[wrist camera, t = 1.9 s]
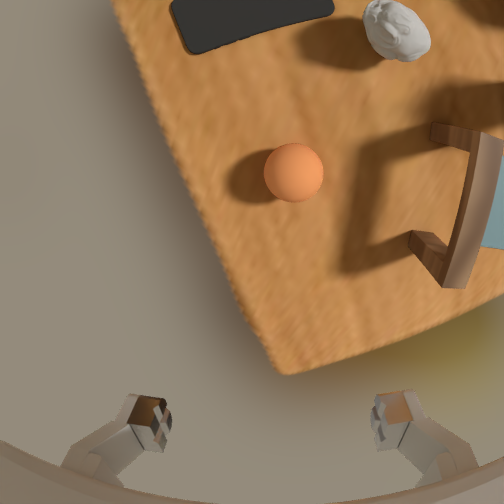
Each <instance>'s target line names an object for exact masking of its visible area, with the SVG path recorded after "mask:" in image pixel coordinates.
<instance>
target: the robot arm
mask: <svg viewBox="0 0 504 504" xmlns="http://www.w3.org/2000/svg"><path fill="white" fill-rule="evenodd" d="M374 402H375V406H374V407H373V408H372V411H371V427H372V430H373V431H374V432H375V433H376V435H375V438H374V439H375V443H376V447H377V451H384V450H391V449H397V448H398V450H399V451H400V452H401V453H402V454H403V455H404V456H405V457H406V458H407V459H408V460H409V461H410V462H411V463H412V464H413V465H414V466H415V467H416V468H417V469H419V471H421V472H422V473H423V474H424V475H423V476H422V478H421V479H420V480H419V482H418V483H417V484H416V486H415V488H413V489H409V490H405V491H401V492H396V493H392V494H387V495H382V496H377V497H372V498H365V499H360V500H352V501H345V502H337V503H326V504H504V457H501V458H499V459H497V460H495V461H493V462H490V463H488V464H485V465H483V466H481V467H479V466H478V463H477V461H476V458H475V456H474V454H473V451H472V449H471V447H470V444H469V443H467V442H466V441H464V440H462V439H461V438H459V437H458V436H456V435H455V434H453V433H452V432H450V431H449V430H447V429H446V428H444V427H443V426H441V425H440V424H438V423H437V422H435V421H434V420H432V419H431V418H426V417H425V414H424V412H423V409H422V407H421V405H420V403H419V400H418V398H417V395H416V393H415V391H414V390H413V389H408V390H403V391H396V392H390V393H383V394H377V395H376V397H375V400H374ZM166 406H167V402H166V400H165V399H164V398H157V397H151V396H144V395H137V394H129V395H128V396H127V397H126V399H125V401H124V403H123V405H122V407H121V409H120V411H119V413H118V415H117V417H116V419H115V421H111V422H109V423H108V424H106V425H104V426H102V427H101V428H99V429H98V430H96V431H94V432H93V433H91V434H90V435H88V436H87V437H85V438H83V439H82V440H80V441H78V442H77V443H75V444H73V445H72V446H71V447H70V449H69V451H68V453H67V455H66V457H65V458H64V460H63V462H62V464H61V466H60V467H59V466H57V465H54V464H52V463H49V462H47V461H45V460H42V459H40V458H38V457H35V456H33V455H31V454H29V453H27V452H25V451H23V450H20V449H18V448H16V447H14V446H13V445H11V444H9V443H7V442H5V441H1V440H0V504H216V503H206V502H198V501H190V500H183V499H177V498H170V497H165V496H159V495H155V494H150V493H145V492H141V491H136V490H132V489H128V488H124V485H123V483H122V482H121V481H120V480H119V478H118V477H117V476H116V475H118V474H119V473H120V472H121V471H122V470H123V469H124V468H126V467H127V466H128V465H129V464H130V463H131V462H132V461H134V460H135V459H136V458H137V457H138V456H139V455H140V454H141V453H143V452H144V450H147V451H154V452H161V453H163V452H164V449H165V446H166V443H167V439H166V437H165V435H167V434H168V433H169V432H170V430H171V427H172V416H171V413H170V411H169V410H168V409H167V408H166Z"/></svg>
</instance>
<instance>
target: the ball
mask: <svg viewBox="0 0 504 504" xmlns="http://www.w3.org/2000/svg"><path fill="white" fill-rule="evenodd" d="M264 179H265V182H266V185H267V187H268V188H269V190H270V191H271V192H272V193H273V194H274V195H275V196H276V197H278V198H279V199H281V200H283V201H287V202H301V201H305V200H307V199H309V198H310V197H312V196H313V195H314V194H315V193H316V192H317V191H318V190H319V188H320V186H321V184H322V181H323V166H322V163H321V161H320V159H319V157H318V156H317V154H316V153H315V152H314V151H312V150H311V149H310V148H308V147H306V146H304V145H301V144H293V143H292V144H285V145H282V146H280V147H278V148H277V149H275V150H274V151H273V152H272V153H271V154H270V155H269V157H268V158H267V160H266V163H265V166H264Z"/></svg>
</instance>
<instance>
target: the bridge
mask: <svg viewBox="0 0 504 504" xmlns="http://www.w3.org/2000/svg"><path fill="white" fill-rule="evenodd" d="M430 140H432V141H435V142H439V143H442V144H446V145H449V146H452V147H455V148H458V149H461V150H464V151H468V152H470V156H469V161H468V167H467V172H466V177H465V182H464V187H463V192H462V196H461V200H460V205H459V209H458V213H457V217H456V220H455V224H454V228H453V231H452V235H451V238H450V242H449V245H448V246H447V245H445V244H444V243H443V242H442V241H441V240H440V239H439V238H438V237H437V236H436V235H435V234H434V233H430V232H423V231H415V230H412V232H411V236H410V240H409V243H408V247H409V248H410V249H411V251H412V252H413V253H414V254H415V255H416V256H417V258H418V259H419V260H420V261H421V262H422V264H423V265H424V266H425V267H426V269H427V270H428V271H429V272H430V274H431V275H432V276H433V277H434V279H435V280H436V281H437V282H438V284H439V285H440V286H441V287H442V288H456V289H465V288H466V285H467V282H468V280H469V277H470V274H471V272H472V269H473V266H474V263H475V261H476V258H477V255H478V252H479V249H480V246H481V242H482V239H483V236H484V233H485V229H486V226H487V222H488V219H489V215H490V211H491V207H492V203H493V199H494V195H495V191H496V186H497V181H498V176H499V171H500V166H501V160H502V155H503V148H504V141H503V140H501V139H499V138H496V137H493V136H491V135H488V134H486V133H483V132H480V131H475V130H471V129H466V128H461V127H457V126H451V125H446V124H441V123H435V122H432V126H431V134H430Z"/></svg>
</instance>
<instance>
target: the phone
mask: <svg viewBox="0 0 504 504" xmlns="http://www.w3.org/2000/svg"><path fill="white" fill-rule="evenodd" d="M171 7H172V11H173V14H174V16H175V19H176V21H177V24H178V26H179V29H180V31H181V34H182V36H183V39H184V41H185V43H186V46H187V48H188V49H189V51H191V52H192V53H194V54H202V53H205V52H208V51H210V50H213V49H217V48H219V47H221V46H223V45H228V44H231V43H233V42H236V41H238V40H242V39H245V38H248V37H250V36H253V35H256V34H259V33H263V32H266V31H269V30H273V29H276V28H280V27H284V26H288V25H292V24H296V23H300V22H304V21H308V20H313V19H318V18H322V17H327V16H329V15H331V14H332V13H333V12H334V9H335V8H334V3H333V1H332V0H173V2H172V5H171Z"/></svg>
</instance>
